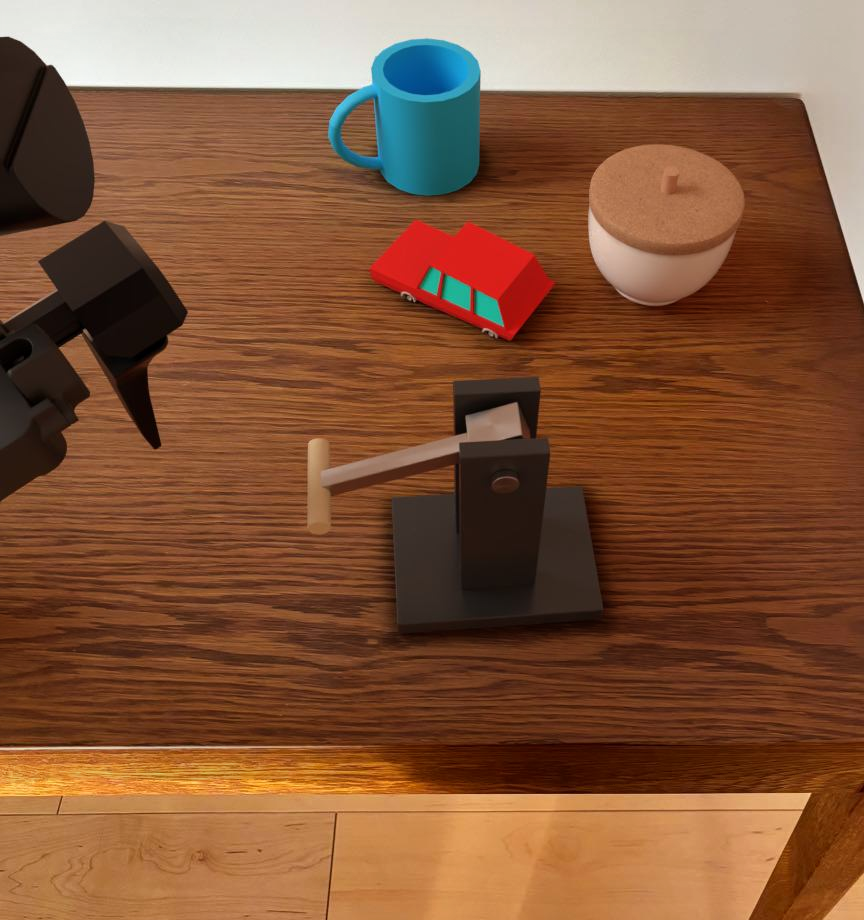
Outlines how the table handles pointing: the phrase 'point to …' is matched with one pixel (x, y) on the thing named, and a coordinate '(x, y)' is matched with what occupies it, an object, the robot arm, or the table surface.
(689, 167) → the trinket box
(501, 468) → the bracket
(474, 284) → the toy car
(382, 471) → the lever
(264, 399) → the table surface
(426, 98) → the mug
